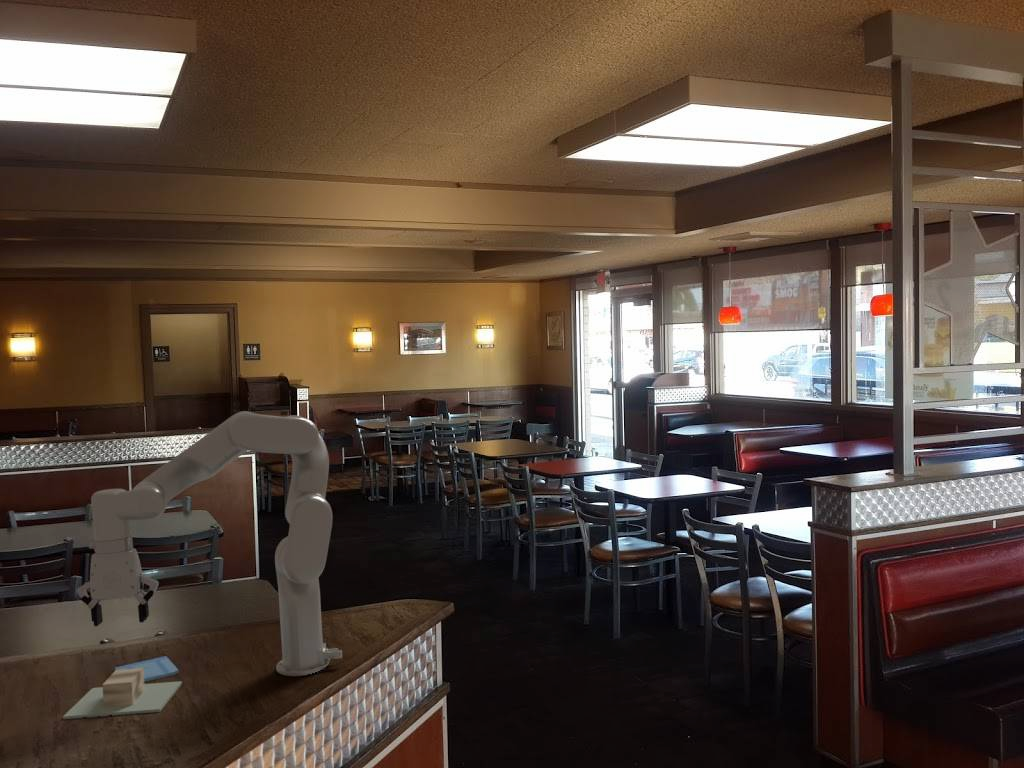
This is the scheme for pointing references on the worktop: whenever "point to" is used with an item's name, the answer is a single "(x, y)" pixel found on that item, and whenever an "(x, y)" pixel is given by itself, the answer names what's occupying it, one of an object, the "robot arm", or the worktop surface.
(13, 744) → the worktop surface
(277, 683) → the worktop surface
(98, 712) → the card mat
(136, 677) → the card box
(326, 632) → the worktop surface
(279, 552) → the robot arm
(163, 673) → the waterproof phone case
